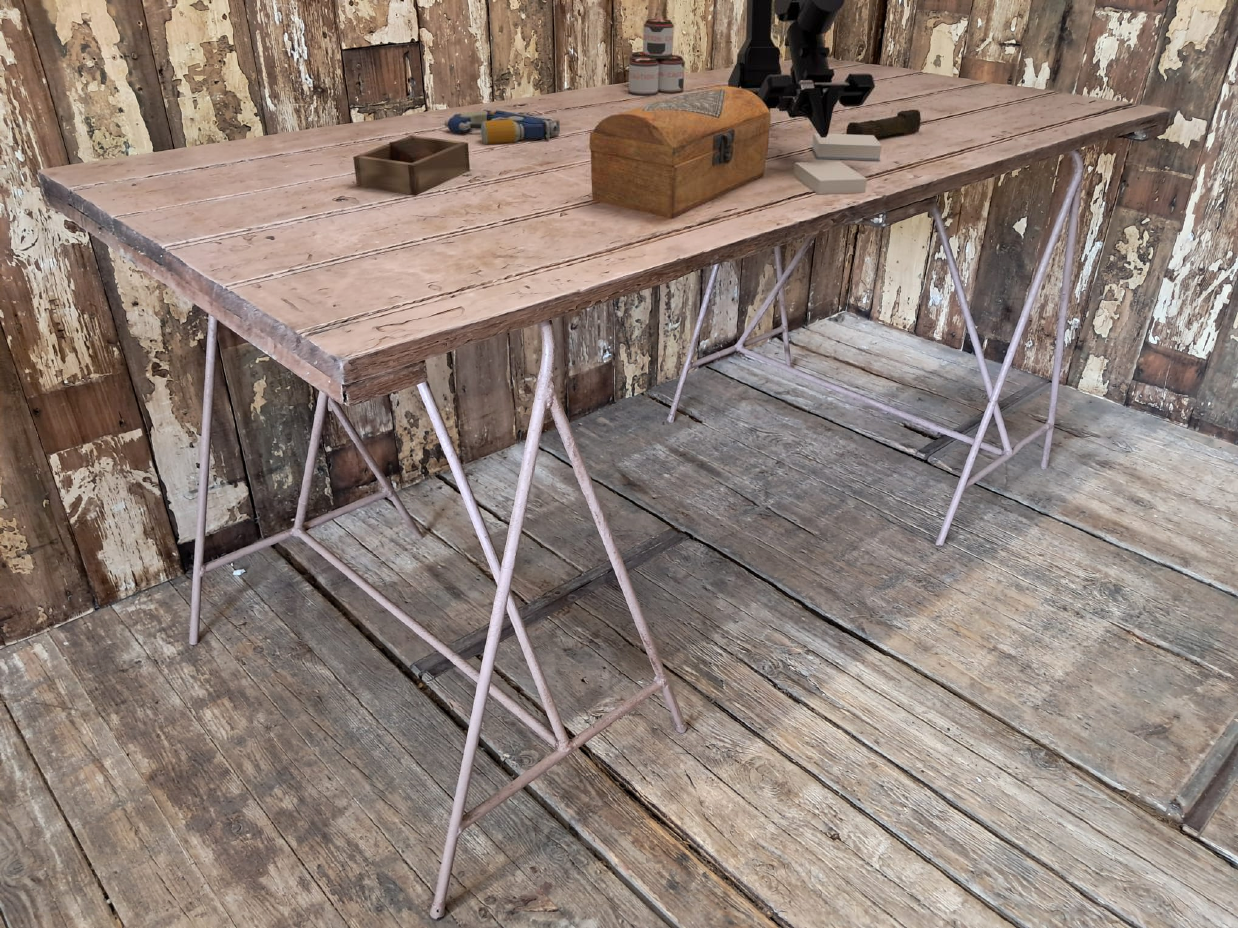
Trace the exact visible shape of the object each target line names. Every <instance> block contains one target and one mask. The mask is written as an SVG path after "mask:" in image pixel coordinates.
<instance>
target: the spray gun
mask: <svg viewBox="0 0 1238 928" xmlns="http://www.w3.org/2000/svg"><path fill="white" fill-rule="evenodd" d="M560 124H561V122H560V120H559V119H551V118H545V117H542V116H541V117H540V116H534V115H528V114H522V113H516V112H510V111H504V110H499V109H498V110H497V109H496V110H495V111H494V110H493V109H487V108H485V109H484V110H483V111H480V110H479V111H467V112H466V111H465V112H462V113H456V114H454V115H453V116H452V117H450V118H449V119H448V120H445V121H444V127H447V128H448V130H449V131H450V132H454V133H458V134H463V133H467V132H469V133H471V132H474V131H480V134H481V135H480V136H481V141H482V143H483V144H484V145H499V144H500V145H501V144H515V143H517V142H518V141H519V140H520V139H521V140H523V138H526V139H541V138H543V139H544V137H545V138H546V139H547V140H550V138H551V137H555V136H558V135H560V133H561V131H560V130H561V127H560V126H561V125H560Z"/></svg>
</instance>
